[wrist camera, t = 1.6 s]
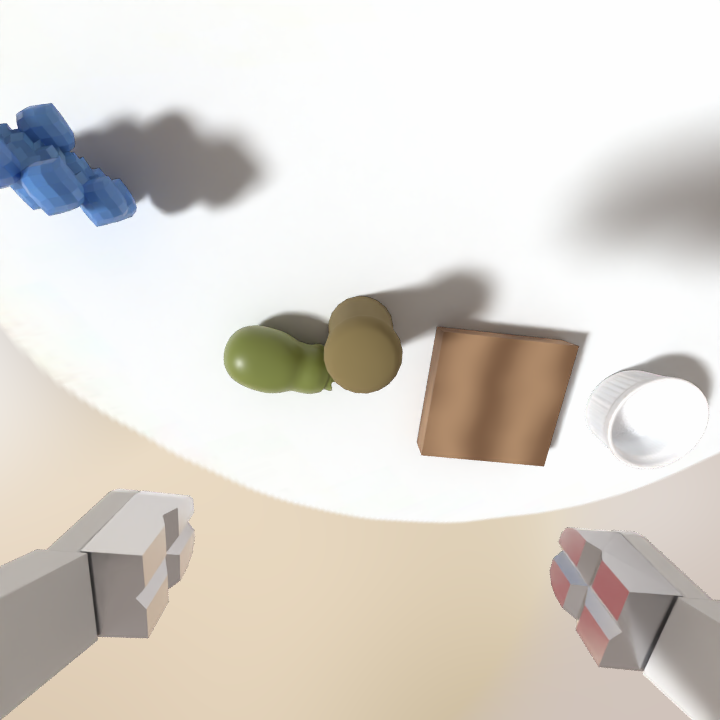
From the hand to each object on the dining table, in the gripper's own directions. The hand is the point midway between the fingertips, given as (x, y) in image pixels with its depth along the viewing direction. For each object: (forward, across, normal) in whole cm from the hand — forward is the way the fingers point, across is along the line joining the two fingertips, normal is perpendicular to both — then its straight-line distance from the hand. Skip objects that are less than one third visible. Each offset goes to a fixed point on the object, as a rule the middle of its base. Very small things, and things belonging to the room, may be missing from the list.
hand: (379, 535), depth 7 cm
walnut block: (+25, -13, +5) cm, 28 cm away
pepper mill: (+25, 0, 0) cm, 25 cm away
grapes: (+25, +22, -10) cm, 35 cm away
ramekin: (+25, -27, +5) cm, 37 cm away
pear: (+25, +6, +3) cm, 26 cm away
